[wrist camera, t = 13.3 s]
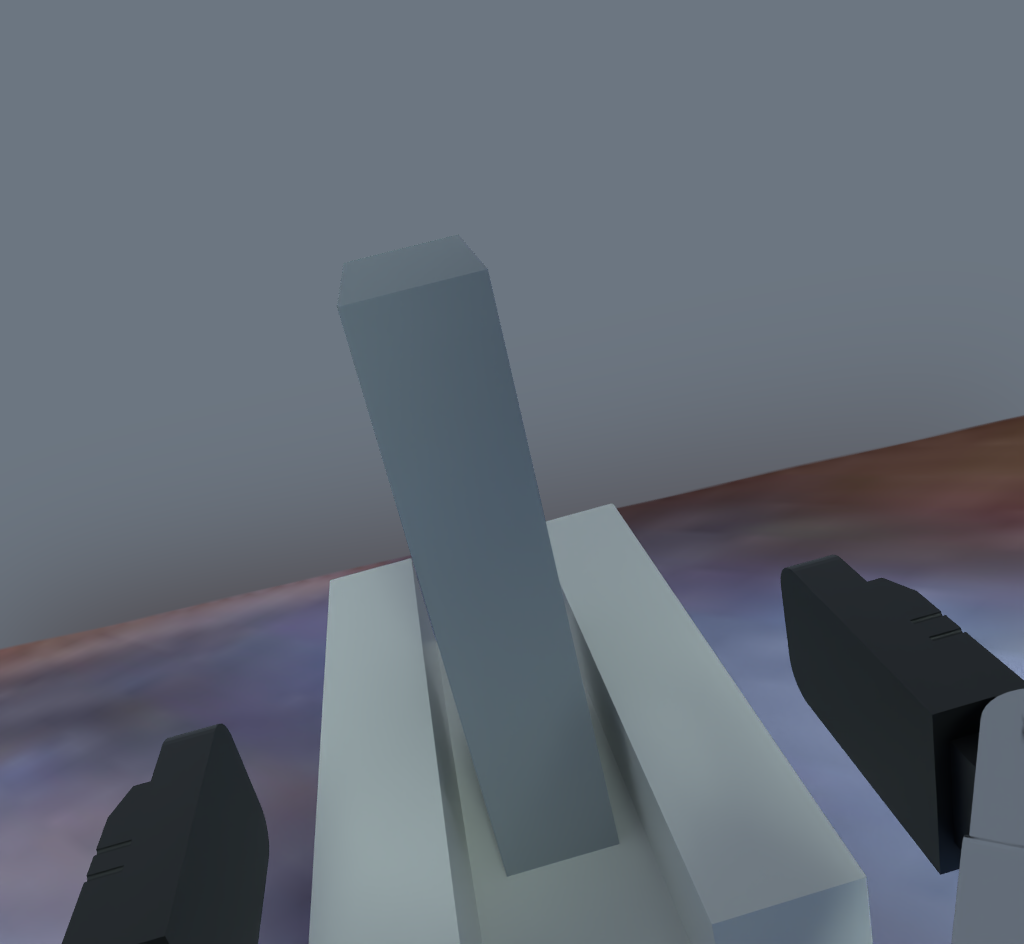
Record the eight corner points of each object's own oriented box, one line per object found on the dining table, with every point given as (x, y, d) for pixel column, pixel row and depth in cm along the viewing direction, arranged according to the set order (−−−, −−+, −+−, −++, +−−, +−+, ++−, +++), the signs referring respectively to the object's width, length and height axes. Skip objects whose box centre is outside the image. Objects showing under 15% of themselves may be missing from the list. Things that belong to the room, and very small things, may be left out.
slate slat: (570, 706, 29) (458, 234, 23) (619, 844, 23) (487, 269, 18) (479, 731, 29) (343, 262, 23) (507, 876, 23) (337, 306, 18)
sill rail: (639, 611, 35) (617, 501, 33) (892, 1046, 19) (876, 873, 17) (361, 690, 34) (324, 581, 33) (366, 1214, 18) (291, 1053, 16)
